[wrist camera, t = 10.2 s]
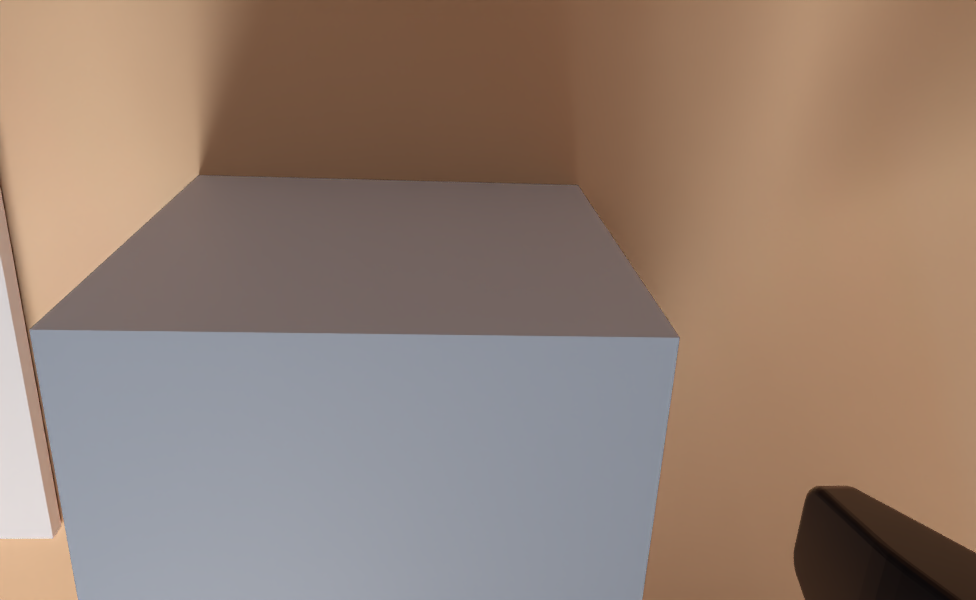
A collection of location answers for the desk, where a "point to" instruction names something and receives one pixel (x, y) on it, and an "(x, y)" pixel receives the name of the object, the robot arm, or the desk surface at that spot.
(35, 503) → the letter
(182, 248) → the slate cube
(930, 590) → the robot arm
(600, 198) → the desk surface
